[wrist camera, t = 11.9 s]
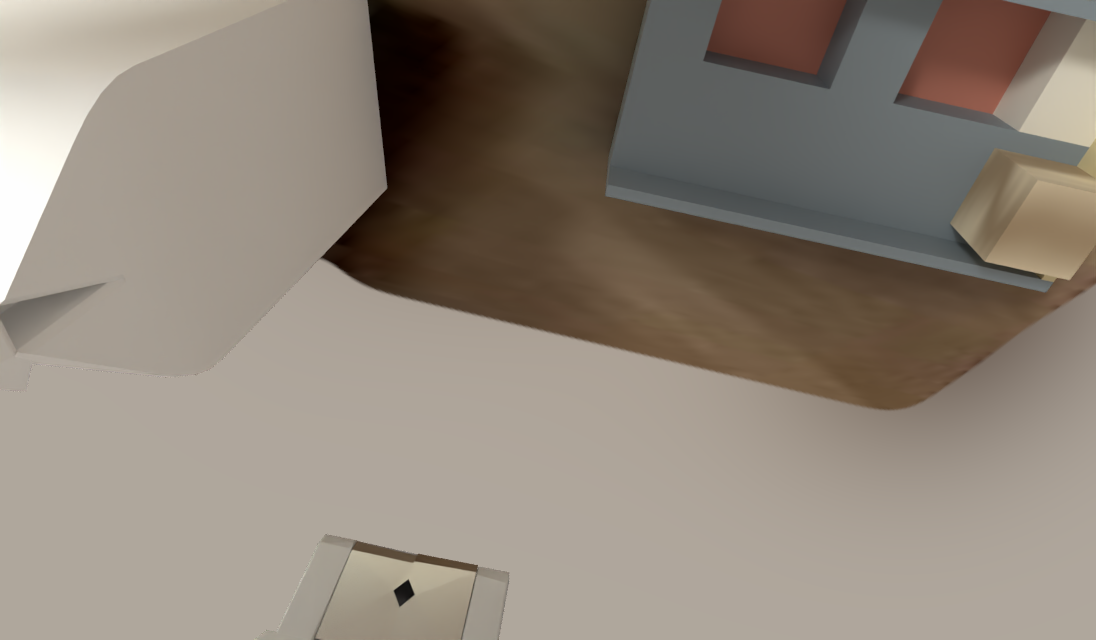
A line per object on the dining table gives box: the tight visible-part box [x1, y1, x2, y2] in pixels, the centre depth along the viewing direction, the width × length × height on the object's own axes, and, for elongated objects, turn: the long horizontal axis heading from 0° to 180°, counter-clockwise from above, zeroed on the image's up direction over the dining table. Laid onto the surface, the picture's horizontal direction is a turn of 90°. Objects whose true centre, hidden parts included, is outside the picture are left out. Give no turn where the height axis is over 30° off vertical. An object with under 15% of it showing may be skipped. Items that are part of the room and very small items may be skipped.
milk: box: [0, 0, 387, 391], centre depth 25 cm, size 12×12×26 cm
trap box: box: [605, 0, 1096, 292], centre depth 31 cm, size 12×22×6 cm, turn 79°
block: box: [950, 148, 1096, 280], centre depth 31 cm, size 4×4×4 cm
